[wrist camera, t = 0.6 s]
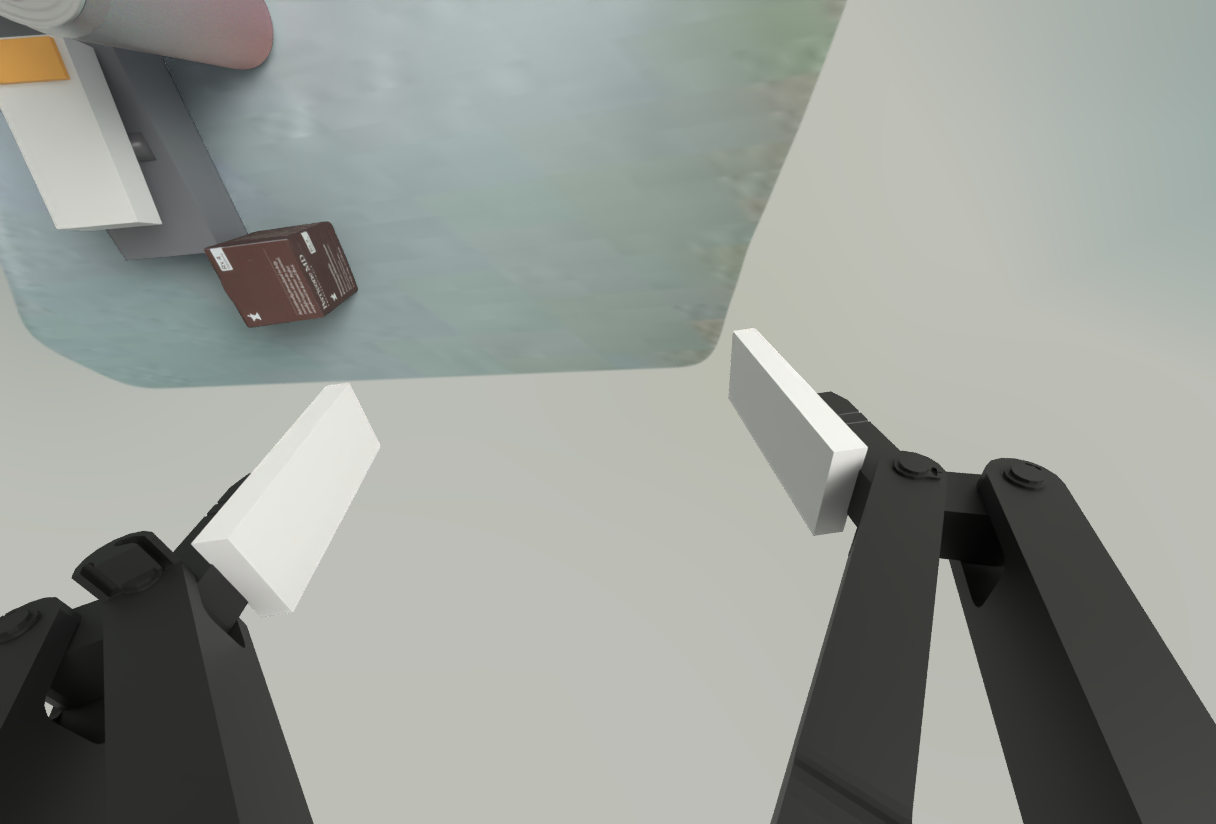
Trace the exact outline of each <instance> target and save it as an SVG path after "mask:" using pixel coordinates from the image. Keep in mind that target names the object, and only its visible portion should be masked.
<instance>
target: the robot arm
mask: <svg viewBox="0 0 1216 824" xmlns="http://www.w3.org/2000/svg"><path fill="white" fill-rule="evenodd" d="M729 400H730V401H731V403H732V405H733V406H734V408H735V409H736V411H737V413H738V414H739V416H740V418H741V419H742V421H743V422H744V424H745V426H746V427H747V429H748V430H749V432H750V434H751V435H752V437H753V439H754V440H755V442H756V443H757V445H758V447H759V448H760V450H761V452H762V453H763V455H764V456H765V458H766V460H767V461H768V463H769V465H770V466H771V468H772V469H773V471H774V473H775V474H776V476H777V478H778V479H779V481H780V482H781V484H782V485H783V487H784V489H785V490H786V492H787V494H788V495H789V497H790V499H791V500H792V502H793V503H794V505H795V507H796V508H797V510H798V511H799V513H800V515H801V516H802V518H803V520H804V521H805V523H806V524H807V526H808V528H809V529H810V531H811V532H812V534H813V535H814V536H815V535H822V534H829V533H836V532H842V531H843V529H844V526H845V522H846V519H847V516H848V515H849V517H850V518H851V520H852V521H853V522H854V524H855V525H856V526H857V530H856V533H855V536H854V539H853V543H852V545H851V548H850V551H849V554H848V560H847V563H846V567H845V570H844V573H843V577H842V580H841V584H840V587H839V591H838V594H837V598H836V601H835V604H834V608H833V611H832V615H831V618H830V622H829V625H828V628H827V632H826V635H825V639H824V642H823V646H822V649H821V652H820V656H819V659H818V663H817V666H816V669H815V673H814V676H813V680H812V683H811V687H810V690H809V693H808V697H807V701H806V704H805V707H804V711H803V714H802V717H801V721H800V725H799V728H798V732H797V735H796V738H795V741H794V745H793V749H792V752H791V756H790V759H789V762H788V765H787V769H786V772H785V776H784V779H783V783H782V786H781V789H780V793H779V796H778V800H777V804H776V807H775V810H774V814H773V817H772V820H771V823H770V824H912V811H913V801H914V791H915V782H916V773H917V764H918V754H919V745H920V735H921V726H922V716H923V707H924V698H925V688H926V678H927V669H928V660H929V651H930V650H929V649H930V641H931V632H932V621H933V613H934V604H935V593H936V584H937V575H938V566H939V558H942V559H949V562H950V565H951V568H952V572H953V576H954V579H955V583H956V586H957V590H958V593H959V597H960V600H961V604H962V608H963V611H964V615H965V618H966V622H967V625H968V629H969V632H970V636H971V639H972V643H973V646H974V650H975V653H976V657H977V661H978V664H979V668H980V671H981V675H982V678H983V682H984V685H985V689H986V692H987V696H988V699H989V703H990V706H991V710H992V714H993V717H994V721H995V724H996V728H997V731H998V735H999V738H1000V742H1001V745H1002V749H1003V753H1004V756H1005V760H1006V763H1007V767H1008V770H1009V774H1010V777H1011V781H1012V784H1013V788H1014V791H1015V795H1016V799H1017V802H1018V805H1019V809H1020V812H1021V816H1022V820H1023V823H1024V824H1216V724H1215V722H1214V721H1213V719H1212V718H1211V716H1210V714H1209V713H1208V711H1207V710H1206V708H1205V707H1204V705H1203V703H1202V702H1201V700H1200V698H1199V697H1198V695H1197V694H1196V692H1195V690H1194V689H1193V688H1192V686H1191V684H1190V683H1189V681H1188V679H1187V678H1186V676H1185V675H1184V673H1183V671H1182V670H1181V668H1180V667H1179V665H1178V663H1177V662H1176V660H1175V659H1174V657H1173V655H1172V654H1171V652H1170V651H1169V649H1168V648H1167V646H1166V644H1165V643H1164V641H1163V640H1162V638H1161V636H1160V635H1159V633H1158V632H1157V630H1156V628H1155V627H1154V625H1153V624H1152V622H1151V620H1150V619H1149V617H1148V616H1147V614H1146V612H1145V611H1144V609H1143V608H1142V607H1141V605H1140V603H1139V602H1138V600H1137V598H1136V597H1135V595H1134V593H1133V592H1132V590H1131V589H1130V587H1129V586H1128V584H1127V582H1126V581H1125V579H1124V577H1123V576H1122V574H1121V573H1120V571H1119V570H1118V568H1117V566H1116V565H1115V563H1114V562H1113V560H1112V558H1111V557H1110V555H1109V554H1108V552H1107V550H1106V549H1105V547H1104V546H1103V544H1102V542H1101V541H1100V539H1099V538H1098V536H1097V534H1096V533H1095V531H1094V530H1093V528H1092V527H1091V525H1090V523H1089V522H1088V520H1087V519H1086V517H1085V515H1084V514H1083V512H1082V511H1081V509H1080V507H1079V506H1078V504H1077V503H1076V501H1075V500H1074V498H1073V496H1072V495H1071V493H1070V491H1069V490H1068V488H1067V487H1066V485H1065V484H1064V483H1063V482H1062V480H1061V479H1060V478H1059V477H1058V476H1057V475H1055V474H1054V473H1052V472H1050V471H1049V470H1047V469H1045V468H1044V467H1042V466H1039V465H1037V464H1034V463H1031V462H1028V461H1024V460H1019V459H1014V458H1000V459H995V460H991V461H990V462H989V463H988V464H987V465H986V467H985V469H984V471H983V473H982V475H980V474H966V473H955V472H946V471H945V470H944V469H943V468H942V467H941V466H940V465H939V464H938V463H936V462H935V461H933V460H932V459H930V458H928V457H926V456H923V455H920V454H917V453H914V452H907V451H900V450H899V449H898V448H897V447H896V446H895V445H894V444H892V442H890V441H889V440H888V439H887V438H886V437H885V436H884V435H883V434H882V433H881V432H880V431H879V430H878V429H877V428H876V427H875V426H874V425H873V424H871V422H868V420H867V418H866V417H865V416H864V415H862V413H859V412H858V410H857V409H856V408H855V407H854V406H853V405H852V404H851V403H850V402H849V401H848V400H847V399H844V398H843V397H841V396H838V395H837V394H835V393H833V392H824V393H816V392H815V391H814V390H813V389H812V388H811V387H810V386H809V385H808V384H807V383H806V381H804V379H803V378H802V377H801V376H800V375H799V374H798V373H797V372H796V371H795V370H794V369H793V368H792V367H791V366H790V365H789V364H788V363H787V361H786V360H785V359H784V358H783V357H782V356H781V355H780V354H779V353H778V352H777V351H776V350H775V349H774V348H773V347H772V346H771V345H770V344H769V342H768V341H767V340H766V339H765V338H764V337H763V336H762V335H761V334H760V333H759V332H758V331H757V330H756V329H755V328H752V329H745V330H737V331H733V339H732V355H731V371H730V385H729ZM380 447H381V446H380V444H379V442H378V440H377V438H376V436H375V434H374V432H373V430H372V428H371V426H370V424H369V422H368V420H367V418H366V416H365V414H364V412H363V410H362V407H361V406H360V403H359V401H358V399H357V398H356V396H355V393H354V392H353V390H352V388H351V386H350V383H342V384H334V385H327V386H325V388H324V389H323V390H322V391H321V392H320V393H319V395H318V396H317V397H316V398H315V399H314V400H313V402H312V403H311V404H310V405H309V406H308V407H307V409H306V410H305V411H304V412H303V414H301V416H300V417H299V418H298V419H297V420H296V422H295V423H294V424H293V425H292V426H291V427H290V428H289V430H288V431H287V432H286V433H285V434H284V435H283V437H282V438H281V439H280V440H279V441H278V443H277V444H276V445H275V446H274V447H273V448H272V450H271V451H270V452H269V453H268V454H267V455H266V457H265V458H264V459H263V460H262V461H261V462H260V464H259V465H258V466H257V467H256V468H255V469H254V471H253V472H252V473H249V474H248V475H246V476H245V477H243V478H242V479H241V480H239V481H238V482H237V483H235V484H234V485H233V486H231V487H230V488H229V489H228V490H227V492H226V493H225V494H224V495H223V496H222V497H221V498H220V500H219V501H218V504H216V505H214V506H213V507H212V509H211V510H210V511H209V512H208V513H207V516H206V517H204V518H203V519H202V520H201V521H200V522H199V523H198V525H197V526H196V527H195V528H194V529H193V530H192V531H191V532H190V534H189V535H188V536H187V537H186V538H185V539H184V540H183V542H182V543H181V544H180V545H179V546H178V547H177V548H176V550H175V551H174V552H172V551H171V550H170V549H169V548H168V547H167V546H166V545H165V544H164V543H163V542H162V541H161V540H160V539H159V538H158V537H157V536H156V535H154V533H153V532H148V531H141V532H136V533H131V534H128V535H125V536H123V537H120V538H118V539H115V540H113V541H112V542H110V543H108V544H106V545H104V546H103V547H101V548H99V549H97V550H96V551H95V552H93V553H92V554H91V555H90V556H88V557H87V558H86V559H84V560H83V561H82V562H81V564H80V565H79V566H78V567H77V568H76V569H75V571H74V573H73V575H72V579H73V580H75V581H76V582H77V583H78V584H80V585H81V586H82V587H84V588H85V589H86V590H87V591H89V592H90V593H91V594H92V595H94V596H95V597H96V598H98V599H99V600H97V601H94V602H91V603H88V604H85V605H82V606H80V607H77V608H74V609H71V608H70V607H69V606H67V605H66V604H65V603H63V602H62V601H60V600H59V599H58V598H56V597H48V598H42V599H39V600H36V601H33V602H30V603H28V604H25V605H23V606H21V607H19V608H16V609H14V610H12V611H10V612H8V613H6V614H5V616H1V617H0V824H313V821H312V818H311V815H310V812H309V809H308V806H307V803H306V800H305V797H304V794H303V791H302V788H301V785H300V782H299V779H298V777H297V773H296V770H295V767H294V764H293V761H292V758H291V755H290V752H289V749H288V746H287V744H286V741H285V738H284V735H283V732H282V729H281V726H280V723H279V720H278V717H277V714H276V711H275V708H274V705H273V702H272V699H271V696H270V693H269V690H268V687H267V685H266V681H265V678H264V675H263V672H262V670H261V667H260V664H259V661H258V658H257V655H256V652H255V649H254V646H253V643H252V640H251V637H250V634H249V631H248V628H247V626H246V624H245V623H244V622H243V621H242V620H241V619H240V618H239V616H240V614H241V613H242V611H243V610H244V608H245V606H246V605H247V603H248V604H249V605H250V606H251V607H252V608H253V609H254V610H255V611H256V612H257V613H258V614H259V615H260V617H267V616H274V615H280V614H287V613H293V611H294V609H295V607H296V605H297V604H298V602H299V599H300V598H301V596H302V594H303V592H304V590H305V589H306V586H307V585H308V583H309V581H310V579H311V577H312V575H313V573H314V572H315V569H316V568H317V566H318V564H319V562H320V560H321V558H322V556H323V555H324V553H325V551H326V549H327V547H328V545H329V543H330V541H331V539H332V538H333V536H334V534H335V532H336V530H337V528H338V526H339V524H340V523H341V520H342V519H343V517H344V515H345V513H346V511H347V509H348V507H349V506H350V504H351V502H352V500H353V498H354V496H355V494H356V492H357V490H358V489H359V487H360V485H361V483H362V481H363V479H364V477H365V475H366V473H367V472H368V470H369V468H370V466H371V464H372V462H373V460H374V458H375V456H376V454H377V453H378V451H379V449H380ZM45 702H47V703H49V704H51V705H52V706H53V709H52V711H51V714H50V716H49V717H48V716H47V713H46V710H45V707H44V704H45Z"/></svg>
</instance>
